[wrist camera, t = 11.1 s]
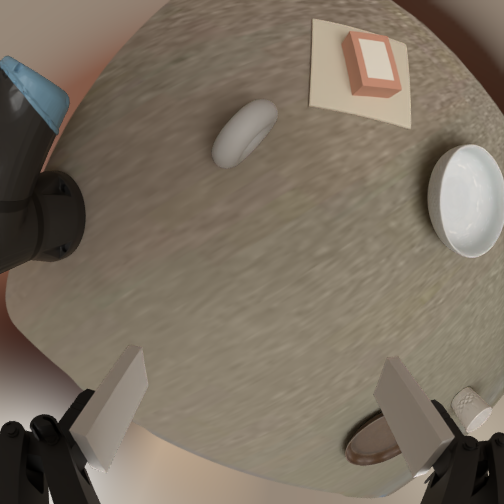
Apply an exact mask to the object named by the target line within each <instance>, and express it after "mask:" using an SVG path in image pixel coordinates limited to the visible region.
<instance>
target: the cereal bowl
mask: <svg viewBox="0 0 504 504" xmlns="http://www.w3.org/2000/svg"><path fill="white" fill-rule="evenodd" d="M428 209H429V215H430V219H431V222H432V225H433V228H434V230H435V232H436V233H437V235H438V237H439V238H440V240H441V241H442V242H443V243H444V244H445V245H446V246H447V247H448V248H449V249H450V250H452V251H454V252H456V253H457V254H459V255H462V256H464V257H468V258H474V257H478V256H481V255H483V254H485V253H486V252H487V251H488V250H490V249H491V247H492V246H493V245H494V244H495V242H496V241H497V239H498V237H499V235H500V233H501V230H502V228H503V224H504V179H503V176H502V173H501V171H500V168H499V166H498V165H497V163H496V161H495V160H494V158H493V157H492V156H491V154H490V153H489V152H488V151H487V150H485V149H484V148H482V147H480V146H478V145H474V144H466V145H460V146H457V147H455V148H452V149H450V150H449V151H447V152H446V153H445V154H444V155H442V157H441V158H440V159H439V160H438V162H437V163H436V165H435V166H434V169H433V171H432V174H431V177H430V181H429V186H428Z"/></svg>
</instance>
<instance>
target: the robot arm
mask: <svg viewBox="0 0 504 504" xmlns="http://www.w3.org/2000/svg"><path fill="white" fill-rule="evenodd" d="M69 103H70V102H69V97H68V95H67V93H66V92H65V91H64V90H62V89H61V88H59V87H58V86H57V85H55V84H54V83H52V82H51V81H49V80H48V79H46V78H45V77H43V76H42V75H40V74H38V73H37V72H35V71H34V70H32V69H30V68H29V67H27V66H25V65H24V64H22V63H20V62H18V61H17V60H15V59H13V58H12V57H10V56H5V57H4V58H3V59H2V60H0V274H1V273H3V272H5V271H8V270H10V269H12V268H14V267H16V266H18V265H21V264H23V263H25V262H27V261H30V260H36V261H47V262H54V261H58V260H61V259H63V258H65V257H68V256H69V255H71V254H72V253H73V252H74V251H75V250H76V248H77V247H78V245H79V243H80V241H81V239H82V236H83V233H84V228H85V206H84V201H83V198H82V195H81V192H80V190H79V188H78V186H77V184H76V183H75V182H74V180H73V179H72V178H71V177H70V176H68V175H67V174H65V173H63V172H59V171H46V172H42V173H40V171H41V169H42V166H43V164H44V162H45V159H46V157H47V155H48V152H49V150H50V148H51V146H52V143H53V141H54V139H55V137H56V135H58V133H59V127H60V125H61V123H62V121H63V118H64V117H65V114H66V112H67V111H68V108H69ZM147 388H148V380H147V375H146V369H145V363H144V357H143V350H142V347H140V346H134V345H128V347H127V348H126V349H125V351H124V352H123V354H122V355H121V356H120V358H119V359H118V360H117V362H116V363H115V365H114V366H113V367H112V369H111V370H110V371H109V373H108V374H107V376H106V377H105V378H104V380H103V381H102V383H101V384H100V386H99V387H98V388H97V390H96V391H94V390H90V389H86V390H85V391H83V392H82V393H80V394H79V395H78V396H77V398H76V399H75V401H74V403H72V405H71V406H70V408H69V409H68V410H67V411H66V413H65V414H64V416H63V417H62V418H61V420H60V421H59V423H58V422H57V421H56V419H55V418H54V417H53V416H50V415H45V414H42V415H39V416H36V417H35V418H34V419H33V420H32V421H31V423H30V429H31V430H32V432H29V431H25V429H24V428H23V426H22V425H21V424H20V423H19V422H15V421H9V422H7V423H5V424H4V425H3V426H2V428H1V431H0V504H49V493H48V492H49V491H48V487H49V490H50V494H51V497H52V500H53V503H54V504H100V502H99V499H98V497H97V495H96V493H95V491H94V488H93V486H92V484H91V481H90V479H89V476H88V473H87V471H86V469H85V465H86V463H87V462H88V463H89V465H90V466H91V468H93V469H95V470H98V471H101V472H104V473H107V472H108V470H109V468H110V465H111V463H112V461H113V458H114V457H115V454H116V452H117V450H118V448H119V446H120V444H121V442H122V439H123V437H124V435H125V433H126V431H127V429H128V427H129V424H130V422H131V420H132V418H133V416H134V414H135V412H136V410H137V408H138V406H139V404H140V402H141V400H142V398H143V396H144V394H145V392H146V390H147ZM373 395H374V397H375V399H376V401H377V403H378V405H379V407H380V409H381V411H382V413H383V415H384V417H385V419H386V421H387V423H388V425H389V427H390V429H391V431H392V433H393V435H394V437H395V439H396V441H397V443H398V446H399V448H400V450H401V452H402V454H403V456H404V458H405V461H406V463H407V465H408V467H409V469H410V472H411V474H412V476H413V478H414V477H417V476H420V475H423V474H425V473H427V472H428V470H429V469H430V468H431V467H432V466H433V468H434V470H435V471H434V472H433V473H432V474H431V475H430V476H429V477H428V478H427V480H426V481H425V483H427V482H428V481H429V480H430V481H429V483H428V486H427V489H426V492H425V494H424V496H423V499H422V501H421V504H504V433H501V432H498V433H495V434H493V435H492V437H491V438H490V439H489V440H488V441H479V442H478V441H477V439H475V438H474V437H471V436H464V435H463V434H462V432H461V431H460V429H459V428H458V427H457V425H456V424H455V422H454V421H453V419H452V418H450V415H449V414H448V413H447V411H446V410H445V408H444V407H443V405H442V404H440V403H439V402H437V401H436V400H431V401H430V399H429V398H428V397H427V395H426V394H425V392H424V391H423V390H422V388H421V387H420V385H419V384H418V383H417V381H416V380H415V379H414V377H413V376H412V374H411V373H410V372H409V370H408V369H407V368H406V366H405V365H404V364H403V362H402V361H401V360H400V358H399V357H398V356H397V357H387V358H386V361H385V364H384V367H383V370H382V373H381V375H380V378H379V381H378V384H377V386H376V389H375V391H374V394H373ZM488 471H489V476H488Z"/></svg>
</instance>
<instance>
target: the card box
mask: <svg viewBox="0 0 504 504" xmlns="http://www.w3.org/2000/svg"><path fill="white" fill-rule="evenodd" d="M341 45H342V49H343V54H344V58H345V62H346V67H347V72H348V76H349V81H350V87H351V92H352V96H368V97H380V98H390V97H392V96H393V95H395V94H396V93H398V92H400V91H401V90H402V88H401V83H400V79H399V75H398V71H397V67H396V63H395V59H394V55H393V52H392V49H391V45H390V42H389V39H388V36H382V35H376V34H370V33H363V32H355V31H349V33H348V34H347V36H346V37H345V39H344V41H343V42H342V44H341Z"/></svg>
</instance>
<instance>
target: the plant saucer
mask: <svg viewBox="0 0 504 504" xmlns="http://www.w3.org/2000/svg"><path fill="white" fill-rule="evenodd" d="M400 453H402V452H401V450H400V448H399V446H398V443H397V441H396V439H395V437H394V435H393V433H392V431H391V429H390V427H389V425H388V423H387V421H386V419H385V417H384V415H383V413H380V414H378V415H377V416H375V417H373V418H372V419H370V420H369V421H367V422H366V423H365V424H364V425H362V426H361V427H360V428H359V429H358V430H357V431H356V433H355V434H354V435H353V436H352V438H351V439H350V441H349V443H348V445H347V448H346V451H345V457H346V459H347V460H348V461H349V462H350V463H352V464H354V465H360V466H366V465H373V464H377V463H381V462H384V461H386V460H389V459H391V458H393V457H395V456H397V455H399V454H400Z"/></svg>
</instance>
